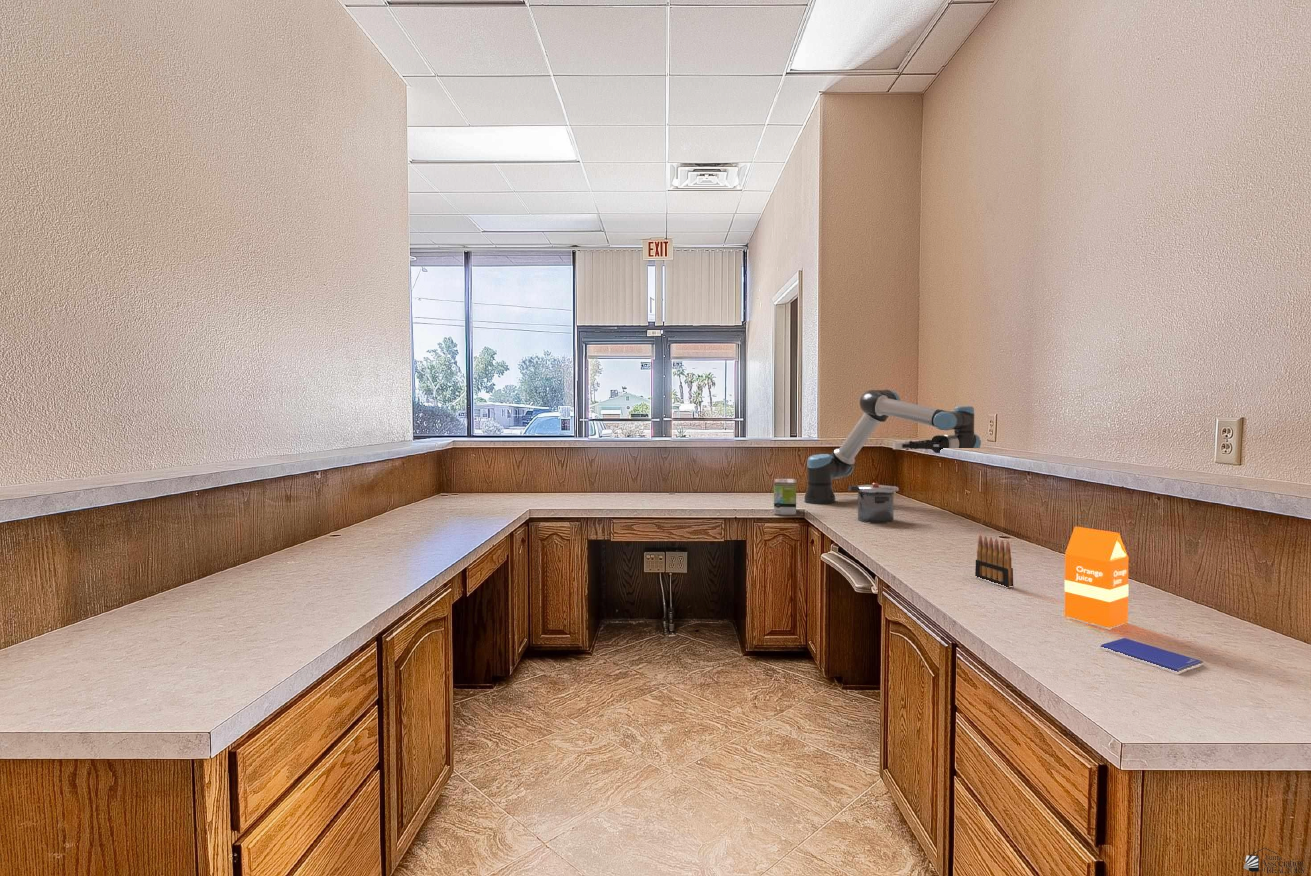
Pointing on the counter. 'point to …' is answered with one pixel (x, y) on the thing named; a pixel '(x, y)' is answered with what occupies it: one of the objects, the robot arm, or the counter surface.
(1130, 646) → the hard drive
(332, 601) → the counter surface
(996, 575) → the ammunition clip
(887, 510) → the grey metal cube
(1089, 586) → the orange juice
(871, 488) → the cooker lid
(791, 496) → the tea box
